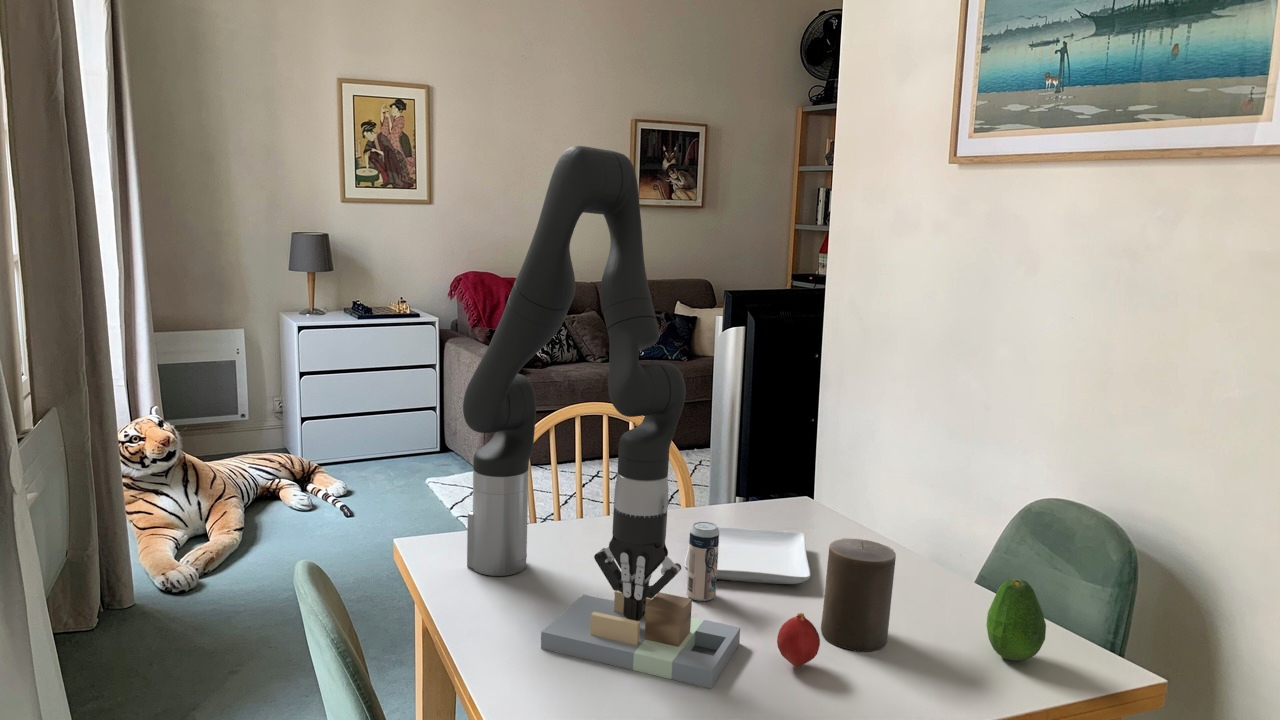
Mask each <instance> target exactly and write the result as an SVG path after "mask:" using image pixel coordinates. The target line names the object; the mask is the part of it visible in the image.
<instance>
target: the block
mask: <svg viewBox="0 0 1280 720" xmlns="http://www.w3.org/2000/svg"><path fill="white" fill-rule="evenodd" d="M692 604H693V599H692V598H690V597H689V598H688V597H685V596H679V595H675V594H670V593H666V592H665V593H664V592H661V591H659V592H658V593H657V594H656V595H655V596H654V598H653V599H652V600H651V601H650V602H649V603H648V604H647V605H646V622H645V640H650V641H654V642H659V643H663V644H667V645H672V646H676V647H679V646H680V644H681V643H682V642H683V641H684V639H685V638H686V637H687V635H688V634H689V633H690V626H691V617H692V606H693V605H692Z"/></svg>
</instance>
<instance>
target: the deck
mask: <svg viewBox="0 0 1280 720" xmlns="http://www.w3.org/2000/svg"><path fill="white" fill-rule="evenodd" d="M654 597H655V596H654ZM654 597H653V598H654ZM653 598H652V599H653ZM652 599H650V598H646V605H647V604H648V603H649V602H650V601H651V600H652ZM623 610H624V595H623V593H621V592H620V591H615V590H614V600H612V599H607V598H602V597H598V596H592V595H588V594H584V593H583V594H582V595H581V596H580V597H579V598H578V599H576V601H574V602H573V603H572V604H571V605H570V606H568V607H567V609H565V610H564V611H563V612H562V613H561V614H559V616H557V617H556V618H554V620H553V621H551V622H550V623H549V624H548V625H547V626H546V627H545V628H543V630H541V632H540V649H542V650H546V651H550V652H555V653H559V654H563V655H568V656H571V657H577V658H580V659H584V660H589V661H593V662H597V663H600V664H601V663H602V664H605V665H610V666H614V667H618V668H623V669H626V670H631V671H635V672H638V673H643V674H648V675H653V676H656V677H660V678H664V679H669V680H673V681H678V682H681V683H685V684H690V685H693V686H694V685H695V686H698V687H702V688H707V689H712V688H713V686H714V685H715V683H716V681H717V680H718V679H719V677H720V675H721V673H722V672H723V670H724V669H725V667H726V665H727V664H728V662H729V661H730V660H731V658H732V656H733V654H734V653H735V651H736V649H737V648H738V646H739V645H740V640H741V639H740V638H741V627H740V626H736V625H733V624H732V625H731V624H727V623H723V622H722V623H721V622H717V621H712V620H708V619H703V618H697V617H692V616H691V626H690V633H689V634H688V635H687V637H686V638H685V639H684V641H683V642H682V643H681V644H680V646H679V647H676V646H672V645H667V644H663V643H659V642H654V641H650V640H645V622H646V609H645V615H644V617H643V618H642V619H641V620H639V621H635V620H630V619H627V617H624V614H623Z"/></svg>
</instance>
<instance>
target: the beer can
mask: <svg viewBox="0 0 1280 720" xmlns="http://www.w3.org/2000/svg"><path fill="white" fill-rule="evenodd" d="M691 527H692V528H690V529H689V538H690V539H689V540H688V546H689V557H688V571H687V576H686V577H687V581H686V595H687V596H688V597H689V598H690V599H692V601H697V602H708V601H710V600H712V599H714V598H716V597H717V580H718V579H717V564H718V548H719V533H720V532H719V530H718V527H719V526H718V525H717V524H715V523H714V522H709V521H697V522H694V523H693V524H692V526H691Z"/></svg>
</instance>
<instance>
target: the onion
mask: <svg viewBox="0 0 1280 720" xmlns="http://www.w3.org/2000/svg"><path fill="white" fill-rule="evenodd" d="M776 638H777V639H776V642H777V644H776V645H777V649H778V650H779V652H780V655H781V656H782V657H783V658H784V659H785V660H786V661H788V662H789V663H790V664H791V666H793V667H794V668H801V667H802V666H804V665H806V664H808V663H809V662H810V661H812V660H814V658H815V657H816V656H817V655H818V653H819V649H820V645H821V641H820V640H821V639H820V634H819V632H818V630H817V628H816V627H815V625H814V624H813V622H811V621H810V620H809V619H808V618H806V616H805V613H803V612H798V613H797V614H796V616H793V617H791V618H789V619H788V620H787V621H785V622H784V623H783V624H782V625H781V627H780V628H779V630H778V633H777V637H776Z"/></svg>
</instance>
